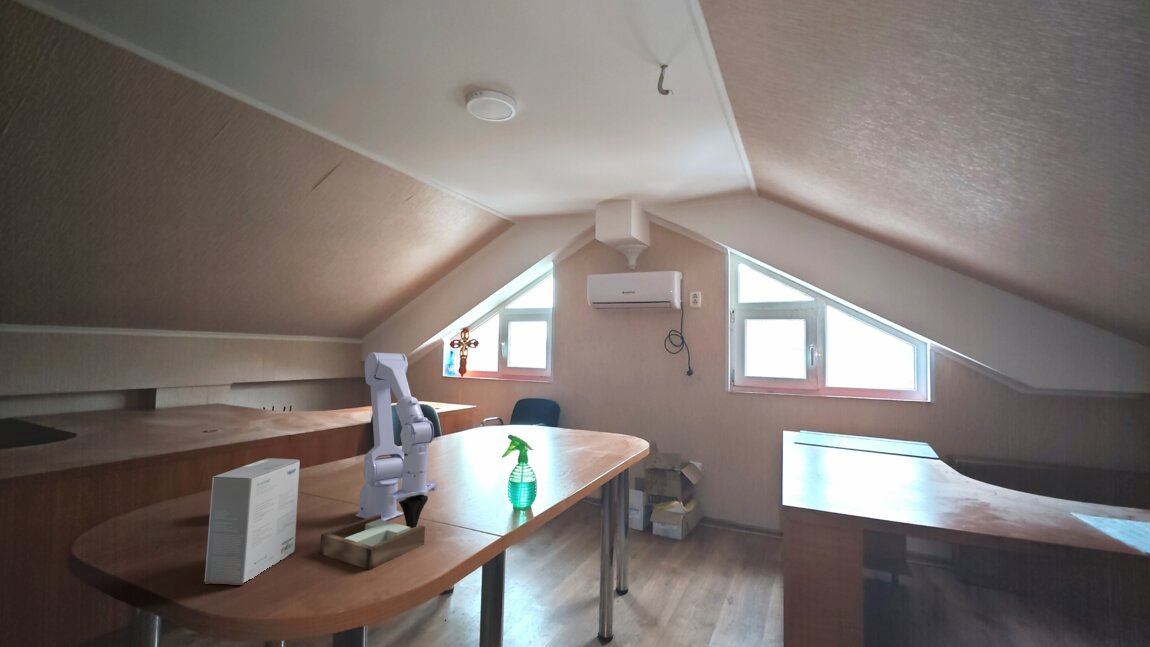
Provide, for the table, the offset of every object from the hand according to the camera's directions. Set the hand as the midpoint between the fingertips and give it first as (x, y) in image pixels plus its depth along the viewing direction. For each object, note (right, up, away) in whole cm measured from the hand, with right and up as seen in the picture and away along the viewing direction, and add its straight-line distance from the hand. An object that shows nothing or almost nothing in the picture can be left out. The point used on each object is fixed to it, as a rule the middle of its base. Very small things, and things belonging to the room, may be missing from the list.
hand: (411, 526), depth 114 cm
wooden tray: (-5, -1, -10) cm, 11 cm away
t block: (-5, -1, -10) cm, 12 cm away
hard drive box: (-25, +1, -21) cm, 32 cm away
